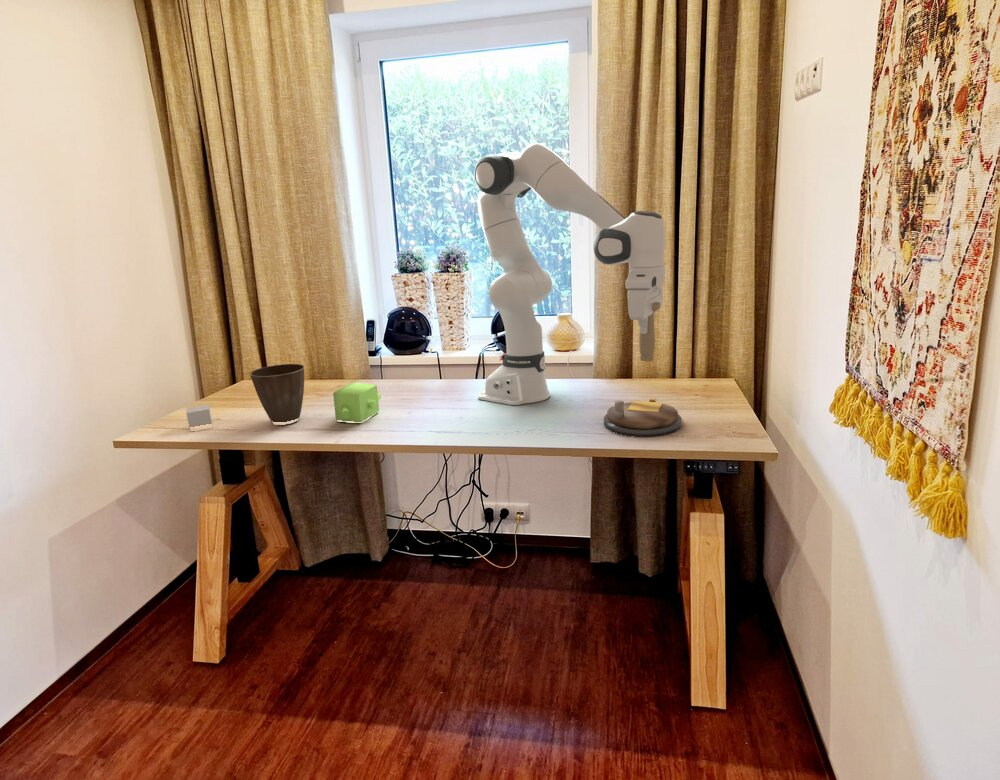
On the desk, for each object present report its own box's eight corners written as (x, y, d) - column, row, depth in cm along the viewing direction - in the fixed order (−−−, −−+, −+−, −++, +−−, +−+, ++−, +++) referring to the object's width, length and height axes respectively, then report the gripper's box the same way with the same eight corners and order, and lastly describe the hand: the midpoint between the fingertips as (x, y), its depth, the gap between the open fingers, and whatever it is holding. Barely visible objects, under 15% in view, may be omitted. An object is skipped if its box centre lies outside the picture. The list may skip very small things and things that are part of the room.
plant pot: (249, 424, 184) (240, 372, 180) (294, 411, 195) (286, 361, 190) (276, 433, 174) (266, 378, 170) (321, 419, 185) (314, 366, 181)
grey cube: (212, 423, 188) (208, 404, 187) (212, 428, 183) (209, 409, 181) (190, 426, 186) (186, 407, 184) (190, 432, 181) (186, 412, 179)
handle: (658, 362, 160) (659, 304, 156) (633, 362, 162) (633, 304, 158) (660, 358, 164) (661, 301, 160) (635, 358, 166) (635, 302, 162)
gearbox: (357, 432, 173) (354, 399, 170) (327, 428, 177) (323, 396, 174) (389, 410, 190) (386, 381, 187) (360, 408, 193) (357, 378, 190)
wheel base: (593, 432, 160) (593, 419, 159) (618, 407, 178) (618, 396, 177) (672, 441, 151) (672, 427, 150) (689, 414, 169) (690, 401, 168)
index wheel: (650, 403, 174) (650, 384, 173) (692, 420, 158) (693, 400, 157) (594, 414, 168) (594, 394, 167) (633, 433, 152) (632, 412, 150)
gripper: (645, 273, 168) (645, 323, 171) (623, 282, 150) (623, 338, 154) (668, 272, 165) (668, 324, 168) (649, 282, 147) (648, 339, 151)
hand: (646, 331), depth 161 cm, fingers closed on handle, 3 cm apart
